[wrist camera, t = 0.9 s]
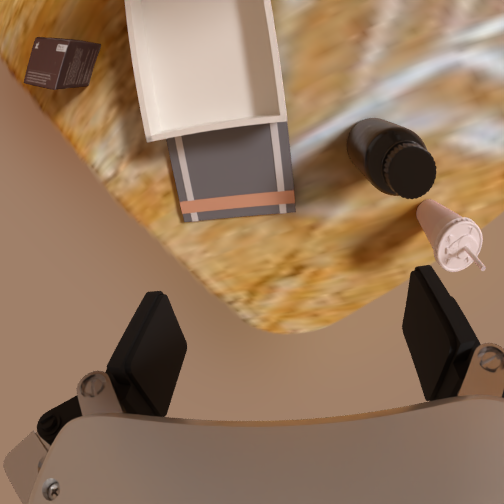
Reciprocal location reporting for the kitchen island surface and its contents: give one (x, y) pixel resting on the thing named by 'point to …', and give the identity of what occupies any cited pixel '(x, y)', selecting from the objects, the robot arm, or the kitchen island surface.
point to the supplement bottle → (391, 158)
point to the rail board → (233, 172)
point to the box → (61, 63)
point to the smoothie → (450, 236)
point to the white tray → (204, 65)
